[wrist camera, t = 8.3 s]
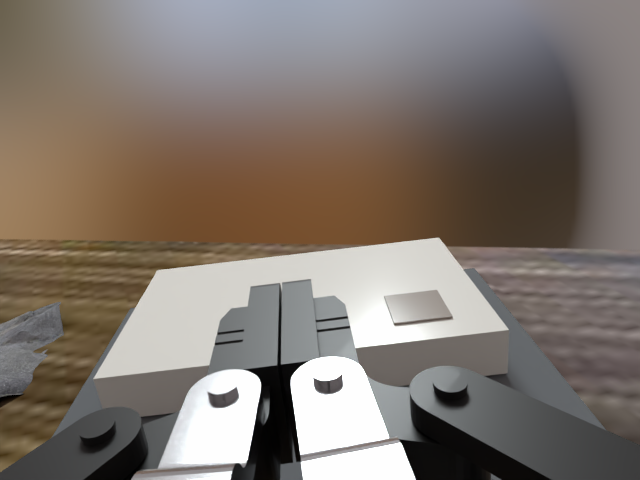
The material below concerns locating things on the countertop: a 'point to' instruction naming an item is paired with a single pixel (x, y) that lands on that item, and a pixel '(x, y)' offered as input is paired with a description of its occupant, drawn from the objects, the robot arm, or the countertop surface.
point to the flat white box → (327, 280)
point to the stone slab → (26, 346)
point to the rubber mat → (523, 375)
